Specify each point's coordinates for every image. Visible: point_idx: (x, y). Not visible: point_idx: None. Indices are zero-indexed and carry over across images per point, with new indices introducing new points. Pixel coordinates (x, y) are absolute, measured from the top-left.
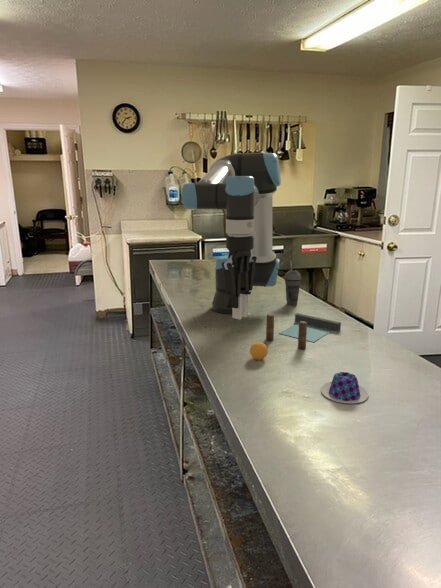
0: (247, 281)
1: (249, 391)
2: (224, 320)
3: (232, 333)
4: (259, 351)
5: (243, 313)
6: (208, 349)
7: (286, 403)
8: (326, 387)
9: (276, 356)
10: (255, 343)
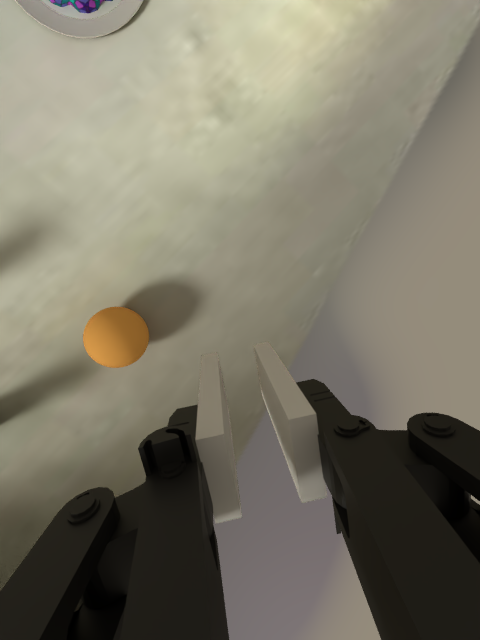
0: (153, 630)
1: (294, 192)
2: None
3: None
4: (132, 317)
5: (220, 373)
6: None
7: (269, 60)
8: (95, 24)
9: (62, 307)
10: (120, 351)
